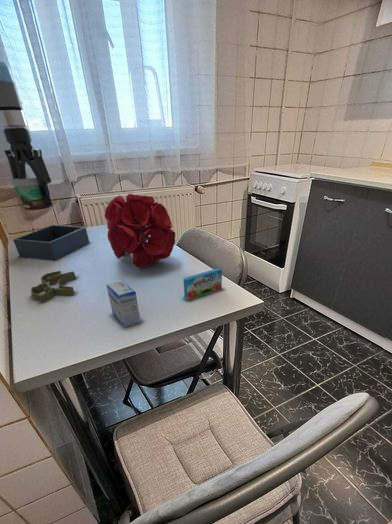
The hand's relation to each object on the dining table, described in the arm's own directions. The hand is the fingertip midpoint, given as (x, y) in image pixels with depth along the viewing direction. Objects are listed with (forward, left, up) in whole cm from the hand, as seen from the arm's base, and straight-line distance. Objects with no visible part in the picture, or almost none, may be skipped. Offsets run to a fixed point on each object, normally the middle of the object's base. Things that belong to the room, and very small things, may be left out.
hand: (40, 204), depth 109 cm
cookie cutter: (+24, -28, -18) cm, 41 cm away
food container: (0, 0, -1) cm, 1 cm away
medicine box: (+55, -38, -18) cm, 70 cm away
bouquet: (+40, -1, -18) cm, 44 cm away
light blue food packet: (+70, -20, -18) cm, 75 cm away
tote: (-2, +3, -17) cm, 18 cm away
